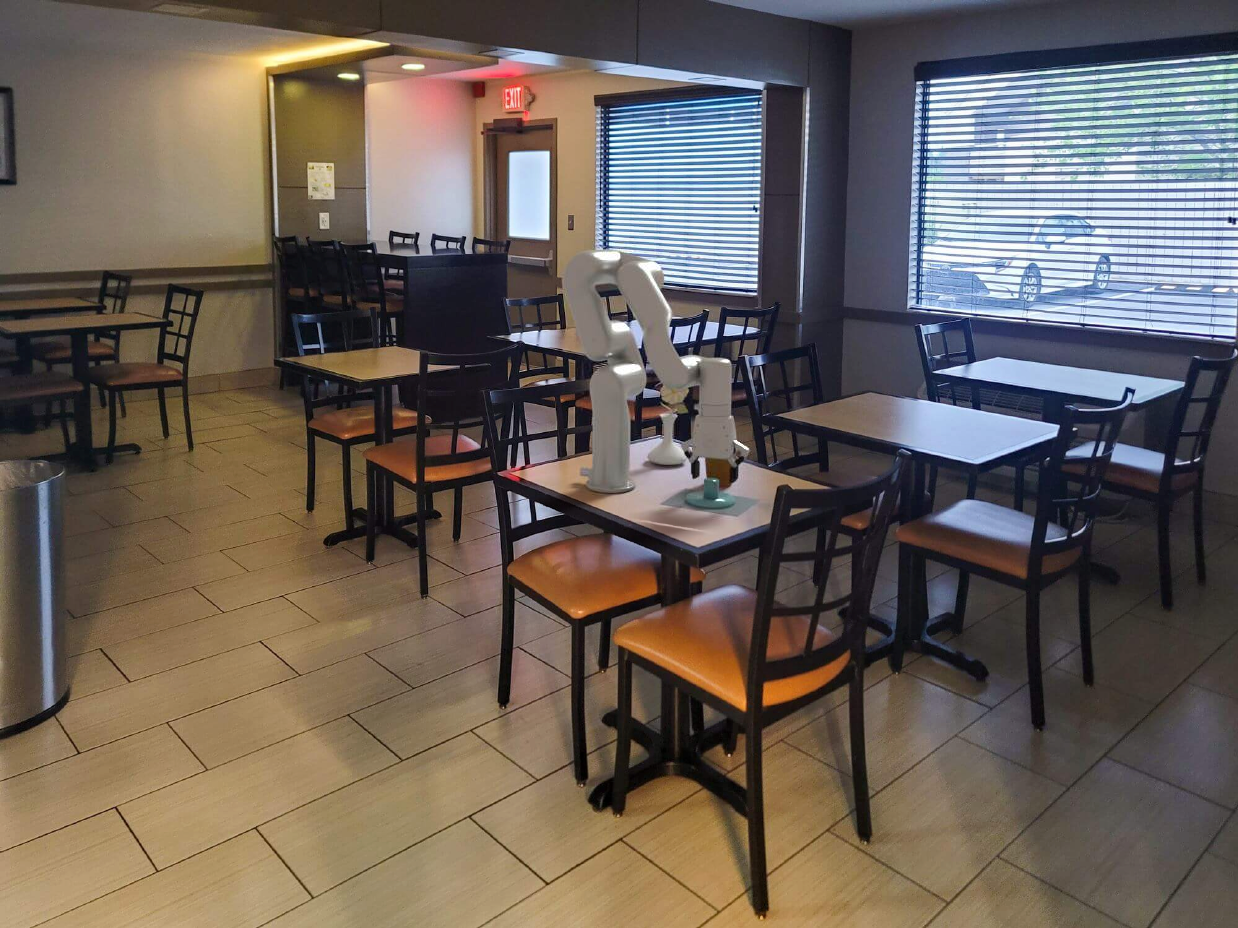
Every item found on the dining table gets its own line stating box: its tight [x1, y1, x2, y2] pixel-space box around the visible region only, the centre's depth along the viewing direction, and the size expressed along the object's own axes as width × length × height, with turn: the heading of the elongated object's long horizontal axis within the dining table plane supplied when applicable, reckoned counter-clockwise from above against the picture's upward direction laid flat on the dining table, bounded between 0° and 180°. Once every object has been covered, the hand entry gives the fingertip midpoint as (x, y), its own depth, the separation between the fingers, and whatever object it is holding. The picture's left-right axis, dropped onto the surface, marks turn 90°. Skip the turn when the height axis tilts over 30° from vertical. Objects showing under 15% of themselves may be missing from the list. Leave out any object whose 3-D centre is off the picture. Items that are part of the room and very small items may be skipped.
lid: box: [686, 477, 735, 509], centre depth 241 cm, size 12×12×6 cm
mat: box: [659, 487, 761, 518], centre depth 242 cm, size 20×16×1 cm
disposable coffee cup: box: [704, 439, 739, 489], centre depth 256 cm, size 10×10×12 cm
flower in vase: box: [646, 384, 690, 466], centre depth 277 cm, size 13×11×25 cm
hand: (714, 479), depth 240 cm, fingers open, 9 cm apart
